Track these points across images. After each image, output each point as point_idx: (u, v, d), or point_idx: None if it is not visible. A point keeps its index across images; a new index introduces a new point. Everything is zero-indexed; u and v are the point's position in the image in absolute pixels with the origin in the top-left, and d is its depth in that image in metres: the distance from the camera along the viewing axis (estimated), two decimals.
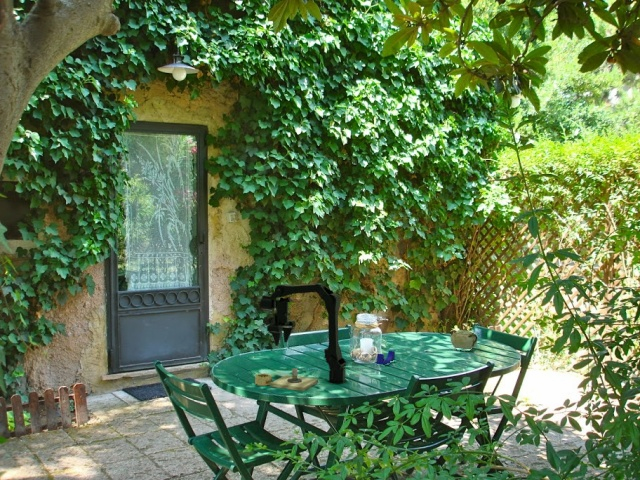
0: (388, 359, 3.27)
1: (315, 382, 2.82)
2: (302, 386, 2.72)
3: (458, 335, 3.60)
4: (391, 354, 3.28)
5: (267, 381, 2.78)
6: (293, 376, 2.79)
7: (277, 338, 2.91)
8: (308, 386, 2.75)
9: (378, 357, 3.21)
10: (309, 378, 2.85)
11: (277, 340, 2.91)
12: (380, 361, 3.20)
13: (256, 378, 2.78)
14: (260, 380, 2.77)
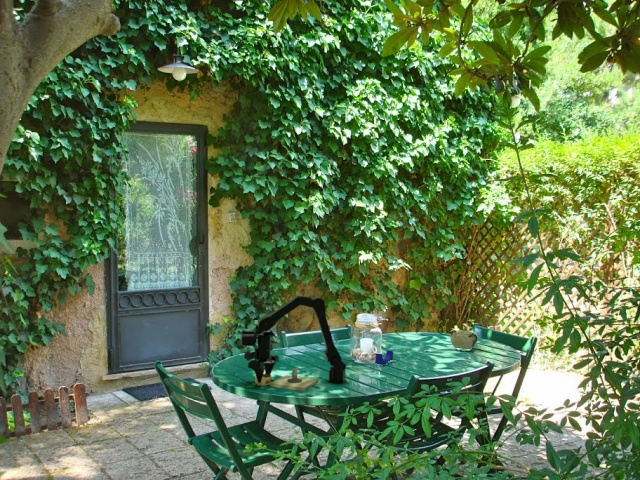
0: (386, 359, 3.27)
1: (315, 382, 2.82)
2: (302, 386, 2.72)
3: (458, 335, 3.60)
4: (389, 354, 3.29)
5: (267, 381, 2.78)
6: (293, 376, 2.79)
7: (260, 375, 2.76)
8: (308, 386, 2.75)
9: (377, 357, 3.21)
10: (309, 378, 2.85)
11: (260, 377, 2.76)
12: (378, 361, 3.21)
13: (256, 378, 2.78)
14: None
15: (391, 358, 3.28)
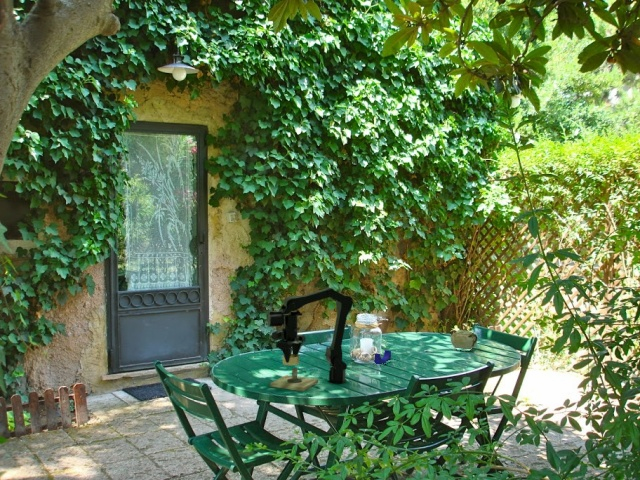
0: (385, 359, 3.28)
1: (315, 382, 2.82)
2: (302, 386, 2.72)
3: (458, 335, 3.60)
4: (387, 353, 3.29)
5: (295, 361, 2.77)
6: (293, 376, 2.79)
7: (288, 354, 2.75)
8: (308, 386, 2.75)
9: (375, 357, 3.22)
10: (309, 378, 2.85)
11: (288, 356, 2.75)
12: (377, 361, 3.21)
13: (284, 358, 2.78)
14: None
15: (389, 358, 3.29)
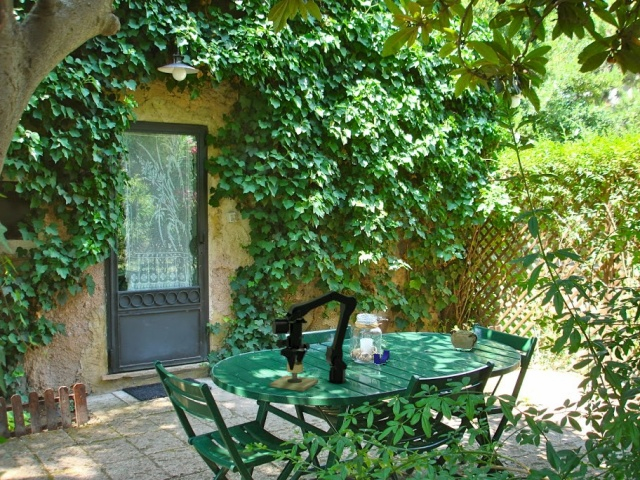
0: (383, 358, 3.28)
1: (315, 382, 2.82)
2: (302, 386, 2.72)
3: (458, 335, 3.60)
4: (386, 353, 3.29)
5: (299, 368, 2.77)
6: (293, 376, 2.79)
7: (292, 362, 2.75)
8: (308, 386, 2.75)
9: (374, 357, 3.22)
10: (309, 378, 2.85)
11: (292, 364, 2.75)
12: (376, 361, 3.21)
13: (288, 365, 2.78)
14: None
15: (388, 358, 3.29)
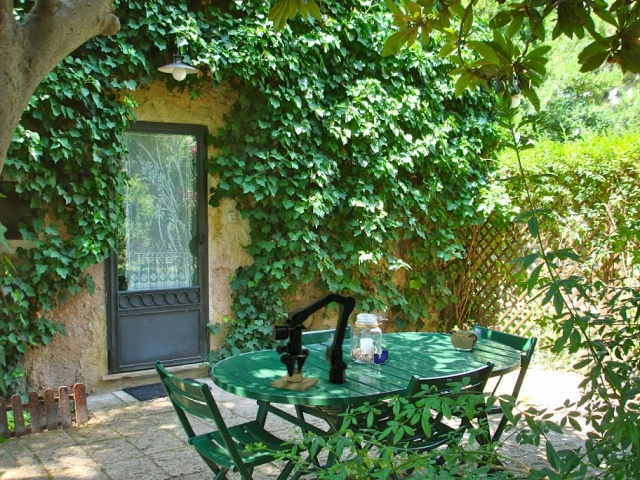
0: (382, 358, 3.28)
1: (315, 382, 2.82)
2: (302, 386, 2.72)
3: (458, 335, 3.60)
4: (385, 353, 3.30)
5: (299, 377, 2.77)
6: None
7: (291, 369, 2.74)
8: (308, 386, 2.75)
9: None
10: (309, 378, 2.85)
11: (291, 371, 2.74)
12: (375, 361, 3.21)
13: None
14: (292, 376, 2.77)
15: (386, 357, 3.30)
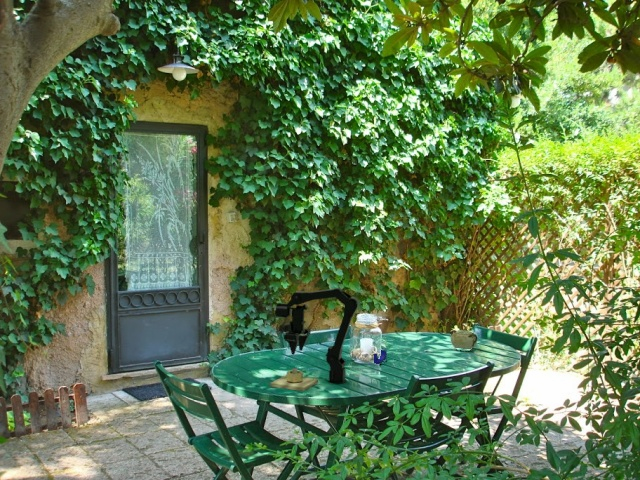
0: (380, 358, 3.29)
1: (315, 382, 2.82)
2: (302, 386, 2.72)
3: (458, 335, 3.60)
4: (383, 353, 3.30)
5: (299, 377, 2.77)
6: None
7: (294, 346, 2.85)
8: (308, 386, 2.75)
9: None
10: (309, 378, 2.85)
11: (294, 349, 2.86)
12: (374, 361, 3.22)
13: (288, 374, 2.78)
14: (292, 376, 2.77)
15: (385, 357, 3.30)
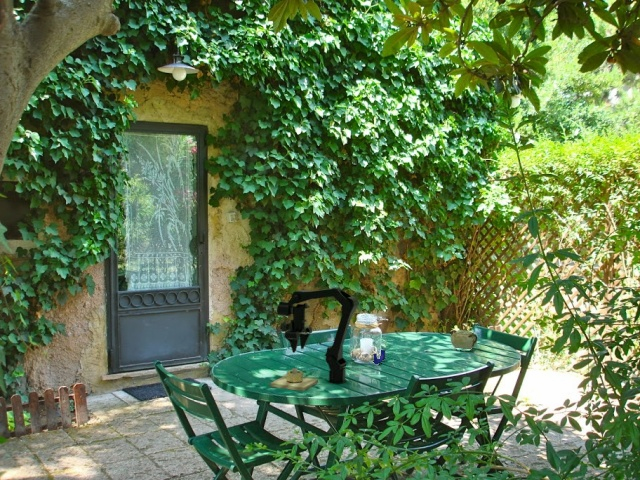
0: None
1: (315, 382, 2.82)
2: (302, 386, 2.72)
3: (458, 335, 3.60)
4: (382, 353, 3.30)
5: (299, 377, 2.77)
6: None
7: (294, 345, 2.89)
8: (308, 386, 2.75)
9: None
10: (309, 378, 2.85)
11: (294, 347, 2.89)
12: None
13: (288, 374, 2.78)
14: (292, 376, 2.77)
15: (384, 357, 3.30)
